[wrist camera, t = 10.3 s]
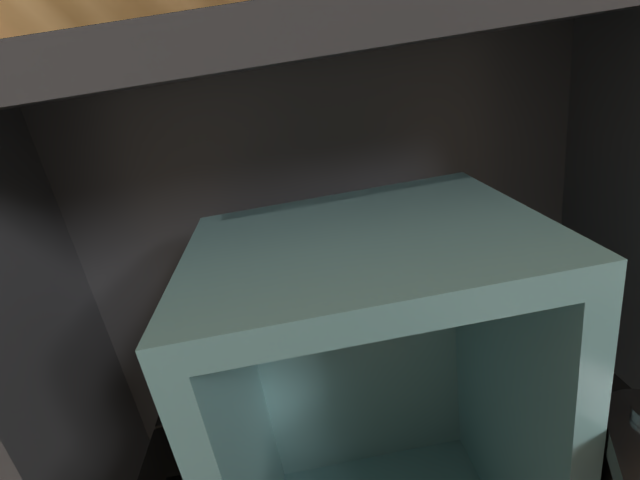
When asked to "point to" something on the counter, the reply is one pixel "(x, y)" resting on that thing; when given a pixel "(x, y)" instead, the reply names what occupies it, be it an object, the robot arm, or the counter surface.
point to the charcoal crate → (273, 168)
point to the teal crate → (387, 340)
